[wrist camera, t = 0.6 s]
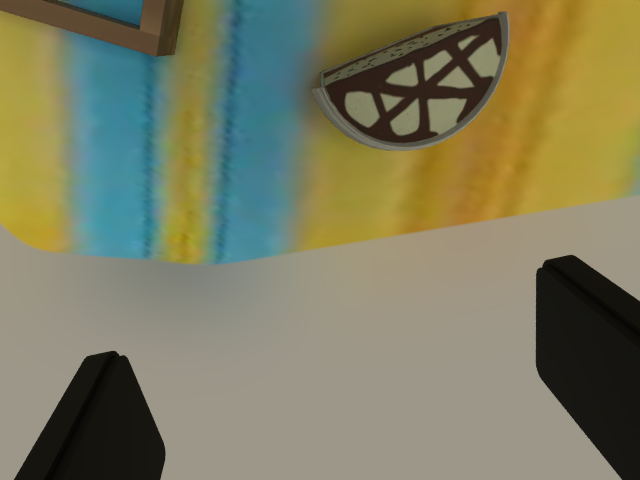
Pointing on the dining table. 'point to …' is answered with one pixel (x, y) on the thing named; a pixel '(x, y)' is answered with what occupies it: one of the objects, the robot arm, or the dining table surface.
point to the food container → (417, 85)
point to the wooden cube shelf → (109, 23)
